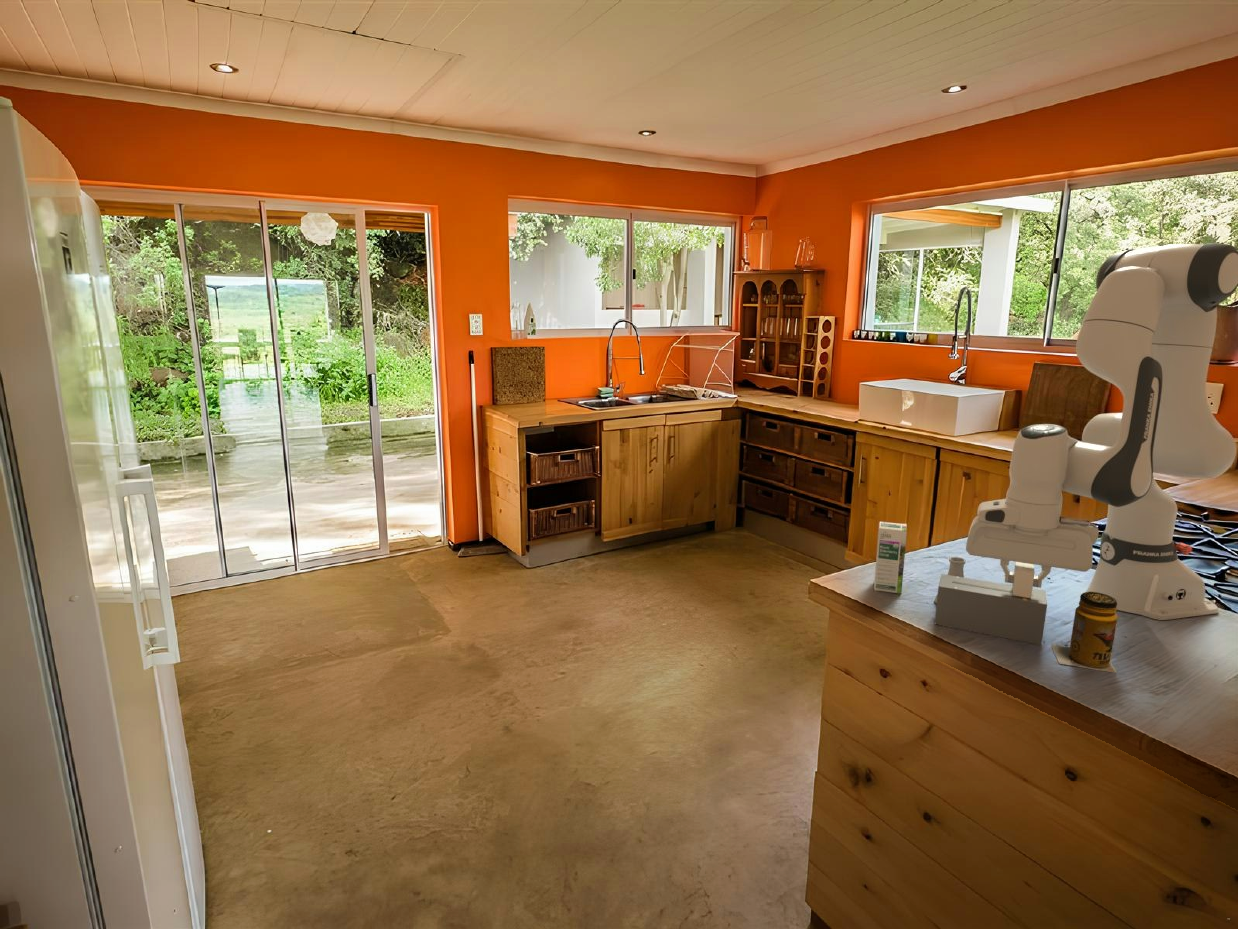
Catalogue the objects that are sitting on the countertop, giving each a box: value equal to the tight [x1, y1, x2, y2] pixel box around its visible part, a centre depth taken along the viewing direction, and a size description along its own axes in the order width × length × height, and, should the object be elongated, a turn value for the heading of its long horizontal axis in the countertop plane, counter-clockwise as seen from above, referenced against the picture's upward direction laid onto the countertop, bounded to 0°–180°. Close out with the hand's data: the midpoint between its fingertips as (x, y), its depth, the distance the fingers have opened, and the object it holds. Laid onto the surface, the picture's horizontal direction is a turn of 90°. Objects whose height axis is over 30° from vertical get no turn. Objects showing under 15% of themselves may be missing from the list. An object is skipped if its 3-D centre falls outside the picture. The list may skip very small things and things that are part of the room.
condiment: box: [1051, 591, 1118, 673], centre depth 120 cm, size 7×8×12 cm
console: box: [934, 573, 1048, 646], centre depth 133 cm, size 18×7×8 cm, turn 61°
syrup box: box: [873, 521, 908, 595], centre depth 151 cm, size 6×6×14 cm
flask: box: [933, 556, 967, 605], centre depth 143 cm, size 7×7×10 cm
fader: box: [1011, 562, 1035, 598], centre depth 129 cm, size 3×5×5 cm, turn 151°
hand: (1022, 584), depth 129 cm, fingers closed on fader, 3 cm apart
